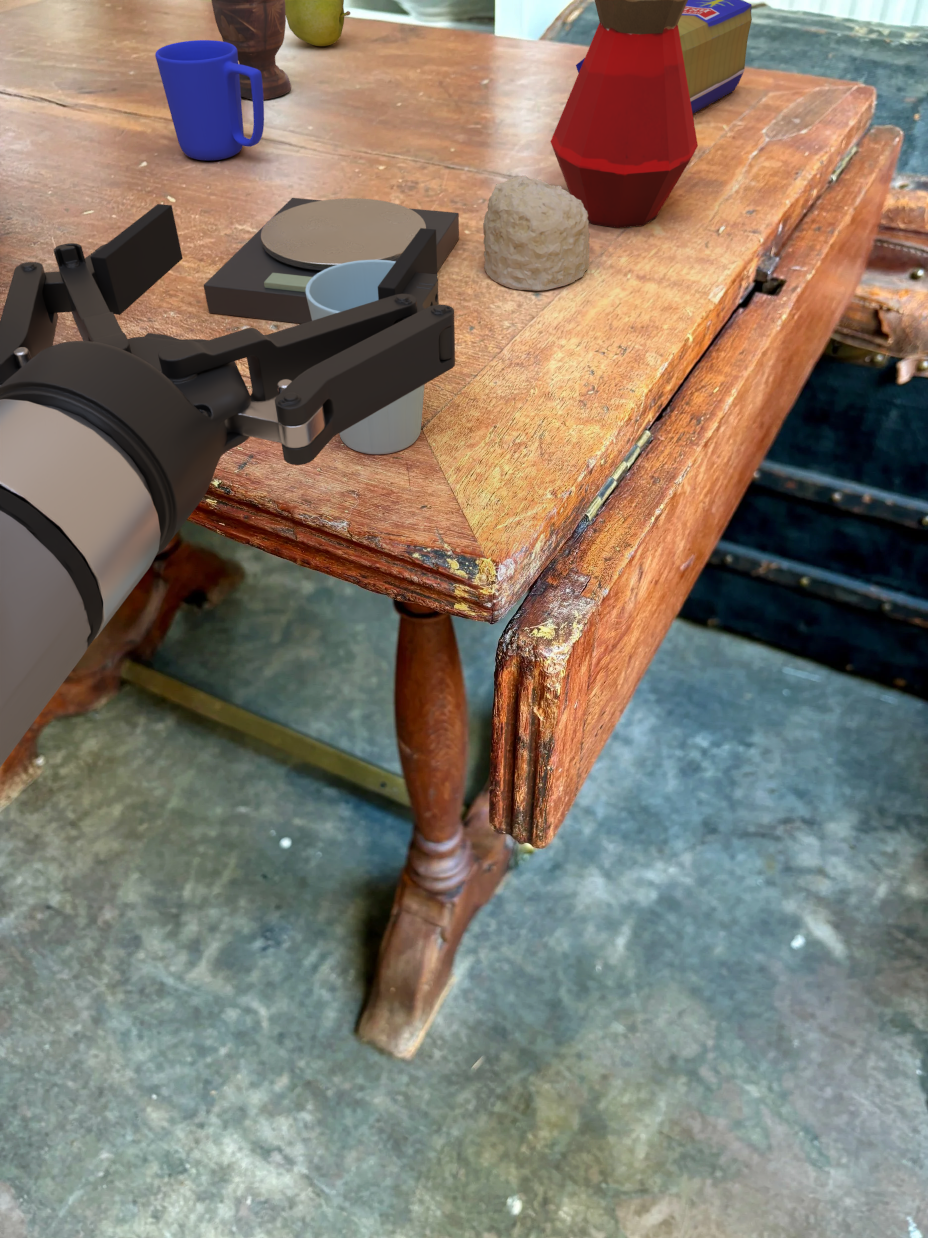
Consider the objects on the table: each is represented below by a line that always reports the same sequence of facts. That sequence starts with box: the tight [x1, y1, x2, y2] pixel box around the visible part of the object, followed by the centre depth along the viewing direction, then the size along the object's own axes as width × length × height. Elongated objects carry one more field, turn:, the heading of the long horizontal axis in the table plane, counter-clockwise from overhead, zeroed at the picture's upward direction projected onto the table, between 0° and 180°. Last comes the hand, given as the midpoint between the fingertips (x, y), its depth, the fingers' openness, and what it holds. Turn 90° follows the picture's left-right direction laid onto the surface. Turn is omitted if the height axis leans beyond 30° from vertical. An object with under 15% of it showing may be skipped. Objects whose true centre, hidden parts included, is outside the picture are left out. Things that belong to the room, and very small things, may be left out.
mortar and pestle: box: [211, 0, 292, 100], centre depth 116 cm, size 12×9×20 cm
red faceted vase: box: [550, 0, 699, 229], centre depth 89 cm, size 16×14×20 cm
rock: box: [482, 174, 591, 292], centre depth 84 cm, size 9×10×10 cm
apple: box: [285, 0, 351, 47], centre depth 137 cm, size 8×9×8 cm
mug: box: [154, 39, 265, 162], centre depth 104 cm, size 8×12×10 cm
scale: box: [203, 197, 460, 325], centre depth 85 cm, size 16×19×3 cm
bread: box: [575, 0, 753, 115], centre depth 114 cm, size 10×25×10 cm, turn 143°
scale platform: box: [261, 197, 426, 270], centre depth 85 cm, size 14×14×1 cm
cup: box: [306, 260, 426, 455], centre depth 64 cm, size 8×8×10 cm
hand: (296, 243), depth 49 cm, fingers open, 13 cm apart
